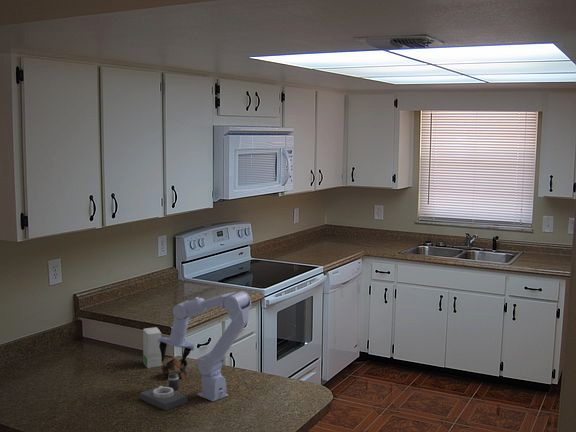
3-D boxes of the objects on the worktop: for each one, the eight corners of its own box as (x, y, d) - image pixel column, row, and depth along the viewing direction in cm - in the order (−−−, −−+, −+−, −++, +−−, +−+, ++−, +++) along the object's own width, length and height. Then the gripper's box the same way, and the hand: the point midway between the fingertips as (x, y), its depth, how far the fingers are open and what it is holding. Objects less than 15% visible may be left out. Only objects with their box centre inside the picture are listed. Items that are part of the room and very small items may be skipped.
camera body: (187, 402, 253) (186, 392, 252) (165, 410, 246) (165, 400, 245) (162, 391, 264) (161, 381, 263) (140, 398, 257) (140, 388, 256)
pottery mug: (179, 383, 274) (168, 366, 274) (165, 388, 280) (154, 371, 279) (196, 367, 284) (186, 350, 284) (182, 372, 290) (172, 356, 289)
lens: (181, 388, 267) (180, 374, 266) (172, 391, 264) (172, 376, 263) (174, 386, 270) (174, 371, 269) (166, 389, 267) (166, 374, 266)
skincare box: (143, 362, 298) (142, 328, 296) (157, 360, 300) (156, 326, 298) (147, 368, 290) (146, 333, 288) (162, 366, 293) (161, 331, 291)
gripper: (198, 331, 268) (191, 361, 271) (162, 323, 267) (156, 354, 270) (195, 338, 261) (188, 369, 264) (159, 330, 260) (152, 361, 264)
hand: (172, 362), depth 267 cm, fingers open, 7 cm apart
